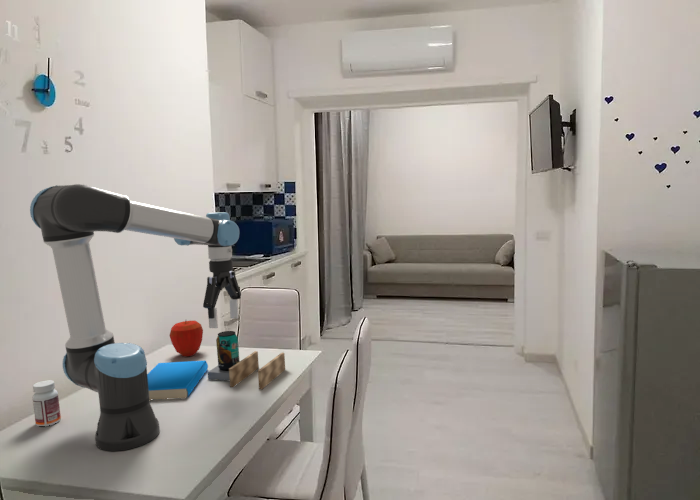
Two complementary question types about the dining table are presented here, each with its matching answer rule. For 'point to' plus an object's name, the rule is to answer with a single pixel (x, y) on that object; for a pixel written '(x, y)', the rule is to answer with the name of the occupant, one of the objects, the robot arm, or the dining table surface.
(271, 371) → the slot rack
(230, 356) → the beverage can
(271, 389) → the dining table surface
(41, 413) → the pill bottle
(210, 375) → the stand
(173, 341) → the apple
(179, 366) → the book
